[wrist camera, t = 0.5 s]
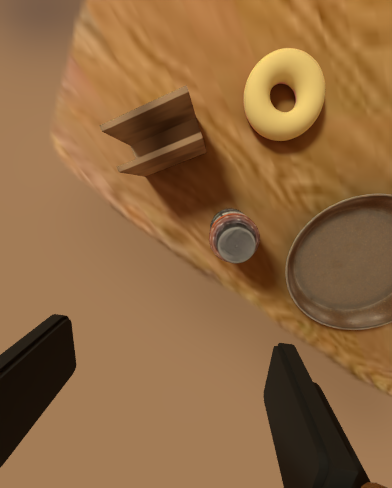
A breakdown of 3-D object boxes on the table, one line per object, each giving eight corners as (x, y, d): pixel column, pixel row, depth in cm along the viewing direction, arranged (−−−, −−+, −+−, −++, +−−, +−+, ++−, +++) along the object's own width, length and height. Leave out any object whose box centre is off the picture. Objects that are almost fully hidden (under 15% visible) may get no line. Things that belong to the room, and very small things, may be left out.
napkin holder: (195, 115, 28) (186, 85, 19) (206, 152, 29) (202, 138, 21) (132, 143, 29) (99, 125, 21) (145, 176, 31) (118, 172, 22)
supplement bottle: (241, 249, 32) (254, 280, 21) (206, 239, 32) (200, 264, 21) (254, 213, 30) (274, 227, 20) (216, 203, 31) (216, 210, 20)
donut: (268, 155, 30) (329, 105, 27) (275, 158, 26) (349, 99, 23) (228, 96, 27) (290, 31, 24) (229, 89, 23) (305, 9, 20)
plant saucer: (255, 283, 34) (259, 292, 31) (333, 167, 28) (349, 164, 25) (359, 336, 35) (373, 351, 31) (456, 234, 29) (486, 240, 26)
